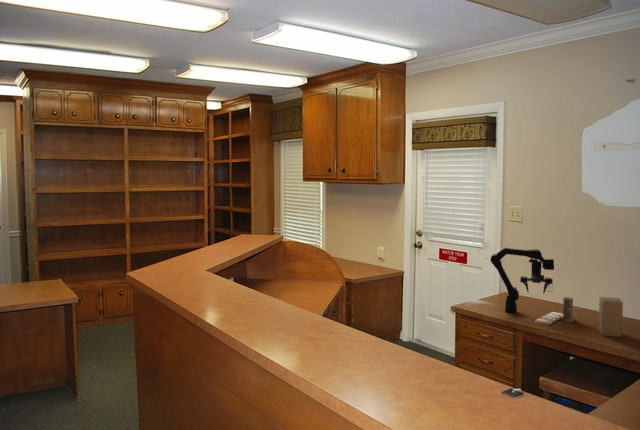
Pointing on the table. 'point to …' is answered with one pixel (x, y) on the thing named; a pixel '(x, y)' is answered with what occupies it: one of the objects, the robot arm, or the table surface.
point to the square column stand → (567, 310)
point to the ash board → (549, 318)
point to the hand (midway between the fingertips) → (535, 293)
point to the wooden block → (610, 316)
